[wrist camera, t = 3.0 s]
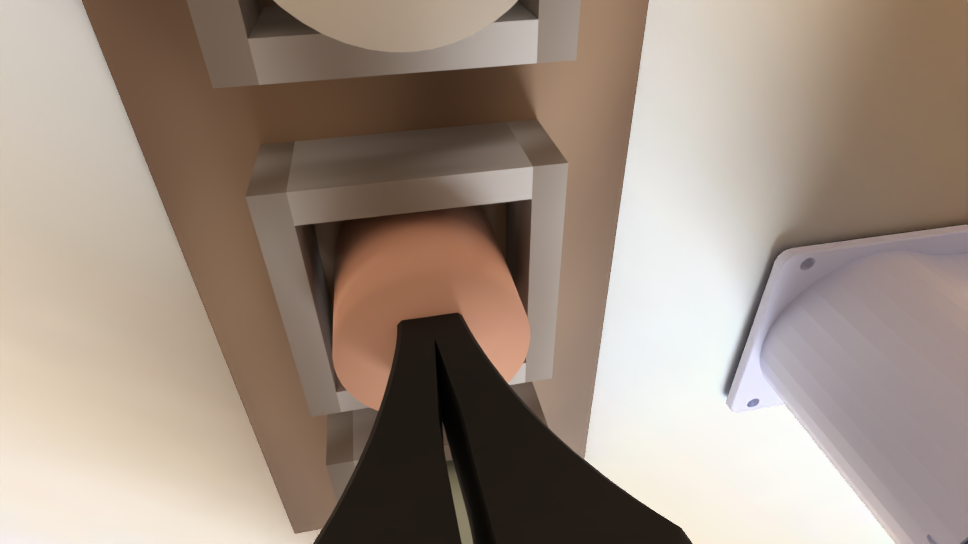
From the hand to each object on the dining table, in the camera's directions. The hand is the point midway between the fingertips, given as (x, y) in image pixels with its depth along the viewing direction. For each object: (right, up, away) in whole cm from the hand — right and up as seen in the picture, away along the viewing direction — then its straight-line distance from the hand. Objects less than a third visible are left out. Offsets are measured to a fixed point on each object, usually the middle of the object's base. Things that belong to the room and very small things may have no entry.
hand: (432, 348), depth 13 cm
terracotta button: (-1, +2, +3) cm, 4 cm away
